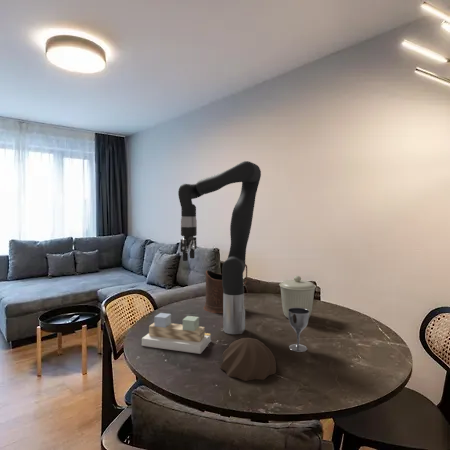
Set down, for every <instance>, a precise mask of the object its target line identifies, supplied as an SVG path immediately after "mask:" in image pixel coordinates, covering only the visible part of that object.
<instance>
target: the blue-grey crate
mask: <svg viewBox="0 0 450 450" xmlns="http://www.w3.org/2000/svg"><path fill="white" fill-rule="evenodd" d="M153 318H154V319H153V320H154V322H153V323H154V326H155V327H164V328H166V327H167V326H169V325H170V324H171V323H172V314H171V313H165V312H159V313H158V314H156V315H154V317H153Z"/></svg>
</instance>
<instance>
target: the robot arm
mask: <svg viewBox="0 0 450 450" xmlns="http://www.w3.org/2000/svg"><path fill="white" fill-rule="evenodd" d="M261 177H262V171H261V168H260V166H259V165H257V164H256V163H253V162H252V161H246V160H244V161H241V162H239V163H237V164H236V165H235V166H234V165H233V166H232V167H230V168H228V169H226V170H224V171H222V172H220V173H217V174H214V175H211V176H207V177H205V178H203V179H199V180H198V181H197V182H196V183H192V184H191V183H183V184H181V185H180V187H179V188H178V192H177V194H178V201H179V205H180V208H181V210H180V211H181V218H180V235H181V237H183V238H182V239H180V252H181V253H182V261H183V262H188V261H189V260H188V259H189V258H190V259H195V258H196V257H195V255H196V253H195V251H196V249H197V248H198V247H197V235H198V234H197V233H198V232H197V226H198V225H197V223H198V222H197V207H196V205H195V204H193V200H194V199H198V198H200V197H202V196H204V195H207V194H211V193H214V192H216V191H219V190H221V189H222V188H224V187H225V186H228V185H232V184H236V183H241V188H240V189H241V190H240V194H239V197H238V199H237V201H236V203H235V205H234V207H233V210H232V214H231V219H230V227H229V230H230V231H229V232H230V234H229V235H230V248H229V252H228V256H227V259H226V260H225V261H224V262H223V263H222V266H221V267H222V268H221V274H222V286H223V313H222V316H223V317H222V321H223V323H222V329H223V332H224V333H225V334H228V335H242V334H243V333H244V332H245V329H246V309H245V285H244V286H243V284H244V272H245V271H246V266H245V264H246V257H247V256H246V254H247V247H248V242H249V238H250V234H251V229H252V223H253V218H254V209H255V204H256V197H257V192H258V188H259V185H260V182H261ZM188 254H189V255H188ZM188 257H189V258H188Z"/></svg>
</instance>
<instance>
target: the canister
mask: <svg viewBox="0 0 450 450" xmlns="http://www.w3.org/2000/svg"><path fill="white" fill-rule="evenodd" d="M278 286H279V287H280V294H281V295H280V297H281V306H282V313H283V316H285V317H286V318H287V319H289V317H288V310H289V309H290V308H294V307H299V308H305V309H307V310H309V318H310V317H311V316H312V312H313V311H312V310H313V305H314V304H313V303H314V296H315V289H316V288H317V286H316V285H315V284H314V283H313V282H311V281H309V280H304V279H302V278H301V276H300V275H295V276H294V277H293V279H286V280H283V281H281V282H280V283H279V284H278Z"/></svg>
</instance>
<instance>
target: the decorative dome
mask: <svg viewBox="0 0 450 450" xmlns="http://www.w3.org/2000/svg"><path fill="white" fill-rule="evenodd" d="M221 356H222V357H221V358H222V362H221V364H220V367H219V369H221V370H222V371H224V372H225V373H226V375H227V377H231V378H238V379H239V380H242V381H243V382H244V381H245V382H246V381H252V380H261V381H262V380H265V379H266V378H267V377H269V376H271V375H274V374H276V372H277V364H276V363H277V361H276V358H275V355H274V354H273V352H272V351H271V349H270V348H269V347H268V346H266V345H265V343H264V342H262V341H260V340H259V339H256V338H252V337H241V338H240V339H236V340H234V341H232V342H231V343H230V344H229V345H228V347H227V348H226V349H225V350H223V353H222V355H221Z"/></svg>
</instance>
